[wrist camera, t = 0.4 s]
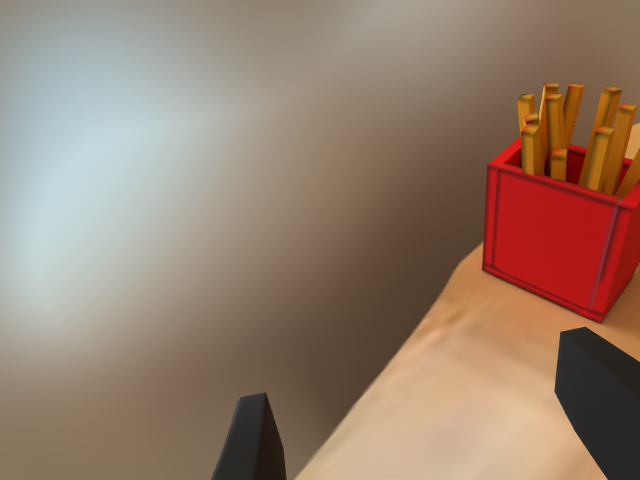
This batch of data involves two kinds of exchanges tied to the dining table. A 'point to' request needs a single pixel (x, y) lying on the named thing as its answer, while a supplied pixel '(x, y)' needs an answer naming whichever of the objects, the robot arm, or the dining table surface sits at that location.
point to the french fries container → (566, 204)
